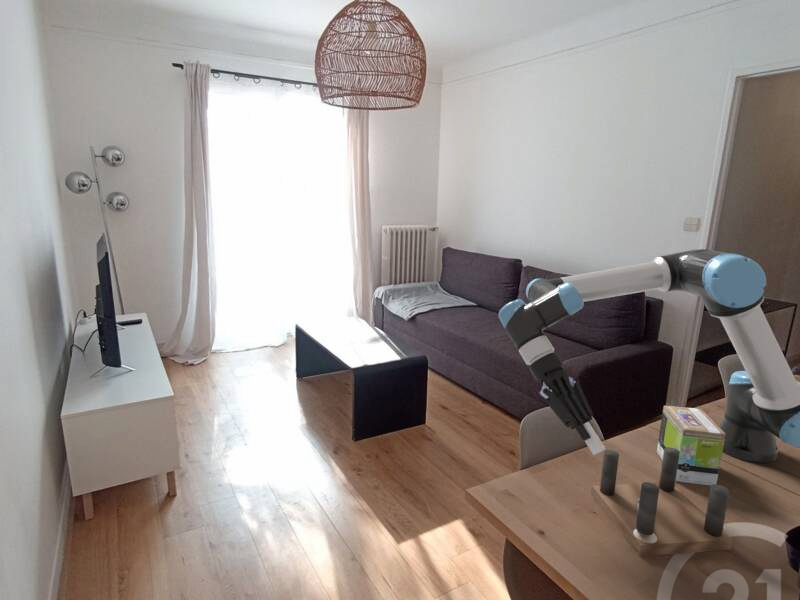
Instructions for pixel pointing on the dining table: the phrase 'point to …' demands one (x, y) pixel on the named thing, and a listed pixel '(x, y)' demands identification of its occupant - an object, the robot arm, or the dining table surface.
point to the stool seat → (664, 511)
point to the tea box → (692, 444)
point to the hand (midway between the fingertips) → (599, 451)
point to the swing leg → (647, 508)
